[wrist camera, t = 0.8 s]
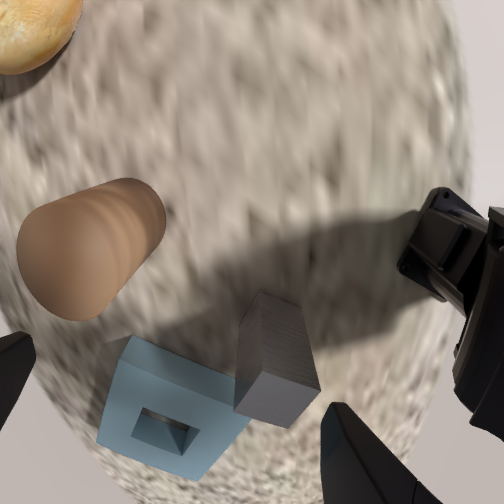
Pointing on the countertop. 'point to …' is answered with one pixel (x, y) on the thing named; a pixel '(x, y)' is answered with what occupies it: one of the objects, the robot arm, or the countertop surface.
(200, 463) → the socket board
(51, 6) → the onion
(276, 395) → the square peg
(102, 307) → the round peg
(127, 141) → the countertop surface
